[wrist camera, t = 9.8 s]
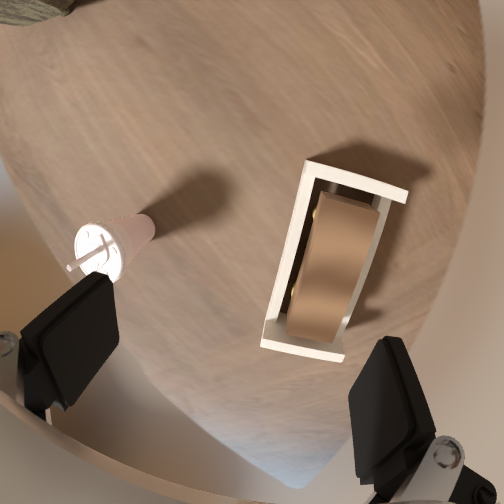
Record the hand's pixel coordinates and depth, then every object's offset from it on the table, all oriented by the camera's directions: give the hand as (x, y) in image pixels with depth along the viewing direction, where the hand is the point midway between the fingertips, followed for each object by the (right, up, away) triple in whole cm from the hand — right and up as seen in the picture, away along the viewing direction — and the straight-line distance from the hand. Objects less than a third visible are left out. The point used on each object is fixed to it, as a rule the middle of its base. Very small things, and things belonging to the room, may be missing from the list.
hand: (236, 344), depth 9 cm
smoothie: (-13, +6, +24) cm, 28 cm away
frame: (+9, +3, +22) cm, 24 cm away
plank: (+8, +2, +20) cm, 22 cm away
